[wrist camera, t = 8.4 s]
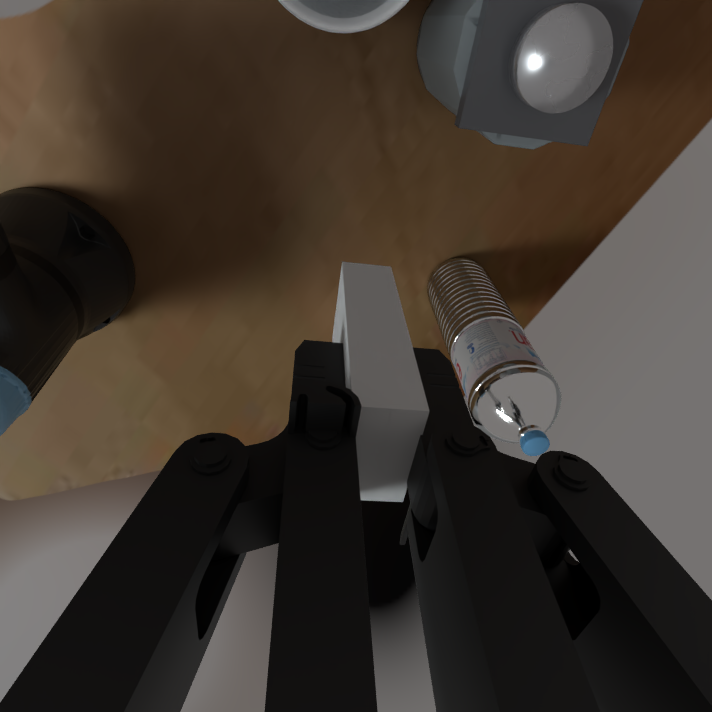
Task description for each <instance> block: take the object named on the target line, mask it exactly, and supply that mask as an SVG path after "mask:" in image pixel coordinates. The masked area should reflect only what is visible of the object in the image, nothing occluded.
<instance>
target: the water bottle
mask: <svg viewBox="0 0 712 712" xmlns="http://www.w3.org/2000/svg"><path fill="white" fill-rule="evenodd" d="M427 294H428V298H429V302H430V305H431V307H432V310H433V313H434V315H435V318H436V321H437V324H438V326H439V329H440V332H441V334H442V337H443V340H444V343H445V345H446V348H447V351H448V354H449V356H450V359H451V362H452V364H453V365H454V367H455V369H456V371H457V374H458V377H459V379H460V382H461V385H462V387H463V390H464V392H465V395H466V397H467V400H468V406H469V411H470V413H471V416H472V419H473V421H474V423H475V424H476V425H477V427H478V428H479V429H481V430H482V431H483V432H484V433H486V434H487V435H488V436H490V437H492V438H494V439H497V440H500V441H503V442H507V443H520V445H521V448H522V450H523V452H524V453H525V454H527V455H530V456H537V455H540V454H542V453H544V452H545V451H546V450H547V449H548V448H549V445H550V443H549V440H548V438H547V436H546V435H545V433H546V432H547V431H548V430H549V428H550V427H551V426H552V424H553V423H554V421H555V419H556V417H557V415H558V412H559V409H560V405H561V392H560V388H559V386H558V384H557V382H556V380H555V379H554V377H553V375H552V374H551V373H550V372H549V371H548V370H547V369H546V368H545V367H544V365H543V363H542V362H541V360H540V358H539V357H538V355H537V354H536V352H535V350H534V349H533V347H532V346H531V344H530V342H529V341H528V339H527V338H526V336H525V333H524V330H523V329H522V327H521V325H520V324H519V322H518V321H517V319H516V317H515V316H514V314H513V313H512V311H511V310H510V308H509V306H508V305H507V303H506V302H505V300H504V299H503V297H502V296H501V294H500V292H499V291H498V289H497V288H496V286H495V284H494V283H493V281H492V280H491V278H490V277H489V275H488V273H487V272H486V271H485V269H484V268H483V267H482V266H481V265H480V264H479V263H477V262H476V261H474V260H472V259H469V258H461V257H460V258H453V259H449V260H447V261H445V262H443V263H442V264H440V265H439V266H438V267H437V268H436V269H435V270H434V271H433V272H432V274H431V276H430V278H429V280H428V285H427Z"/></svg>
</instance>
